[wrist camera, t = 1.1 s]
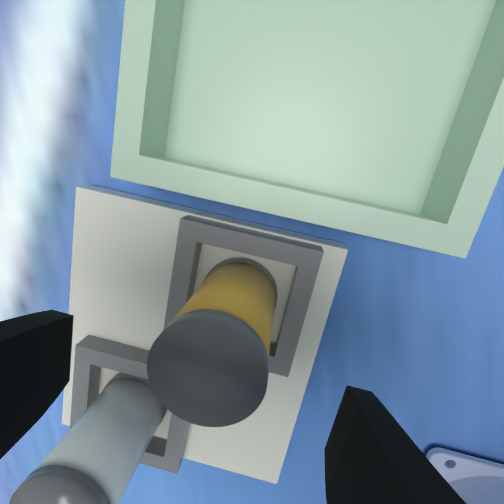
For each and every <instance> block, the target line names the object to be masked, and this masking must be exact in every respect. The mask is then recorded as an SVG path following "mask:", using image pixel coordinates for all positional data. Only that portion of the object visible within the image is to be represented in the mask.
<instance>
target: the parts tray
mask: <svg viewBox="0 0 504 504" xmlns="http://www.w3.org/2000/svg"><path fill="white" fill-rule="evenodd" d="M503 167H504V0H126V1H125V12H124V24H123V35H122V46H121V58H120V69H119V80H118V92H117V103H116V115H115V126H114V137H113V149H112V160H111V171H110V177H112V178H117V179H121V180H126V181H130V182H134V183H139V184H143V185H147V186H152V187H156V188H160V189H165V190H169V191H173V192H178V193H182V194H187V195H191V196H195V197H200V198H204V199H208V200H213V201H217V202H221V203H226V204H230V205H234V206H239V207H243V208H247V209H252V210H256V211H261V212H265V213H269V214H274V215H278V216H282V217H287V218H291V219H295V220H300V221H304V222H308V223H313V224H317V225H322V226H326V227H330V228H335V229H339V230H343V231H348V232H352V233H356V234H361V235H365V236H369V237H374V238H378V239H382V240H387V241H391V242H396V243H400V244H404V245H409V246H413V247H417V248H422V249H426V250H430V251H435V252H439V253H443V254H448V255H452V256H457V257H461V258H465V259H466V257H467V254H468V252H469V249H470V247H471V244H472V242H473V240H474V237H475V235H476V232H477V230H478V227H479V225H480V223H481V220H482V218H483V215H484V213H485V211H486V208H487V206H488V203H489V201H490V198H491V196H492V194H493V191H494V189H495V186H496V184H497V181H498V179H499V177H500V174H501V172H502V169H503Z"/></svg>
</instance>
